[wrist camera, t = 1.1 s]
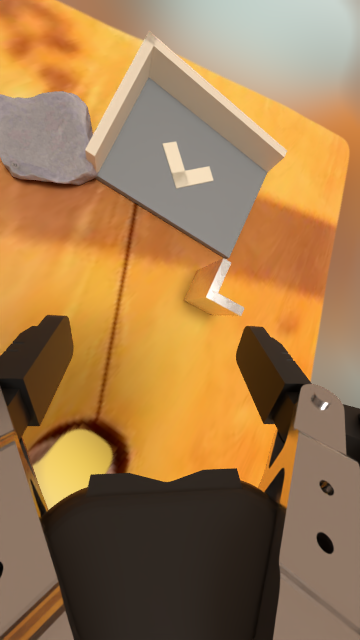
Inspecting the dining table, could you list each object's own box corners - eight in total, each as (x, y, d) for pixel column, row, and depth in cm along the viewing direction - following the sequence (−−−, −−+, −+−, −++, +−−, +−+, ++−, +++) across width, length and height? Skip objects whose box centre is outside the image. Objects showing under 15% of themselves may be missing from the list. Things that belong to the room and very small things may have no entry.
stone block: (107, 188, 34) (89, 108, 31) (101, 176, 29) (81, 81, 26) (23, 198, 32) (-3, 115, 29) (3, 187, 27) (-29, 87, 25)
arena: (89, 174, 31) (84, 149, 27) (143, 71, 33) (149, 31, 28) (226, 259, 38) (242, 251, 33) (266, 170, 40) (287, 150, 35)
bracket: (183, 300, 36) (205, 297, 28) (197, 270, 37) (223, 258, 28) (211, 314, 38) (240, 316, 29) (224, 286, 38) (257, 278, 30)
